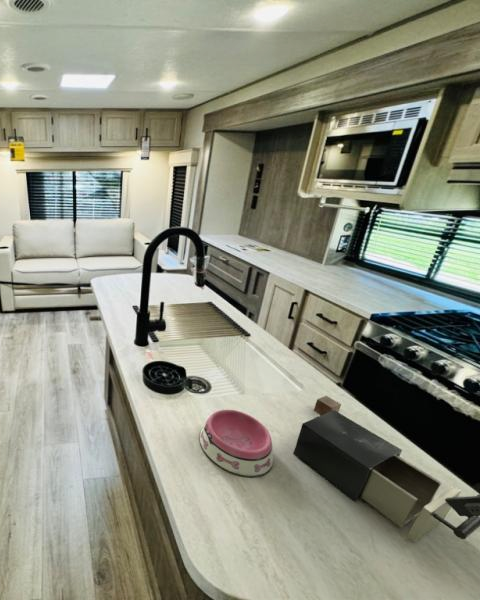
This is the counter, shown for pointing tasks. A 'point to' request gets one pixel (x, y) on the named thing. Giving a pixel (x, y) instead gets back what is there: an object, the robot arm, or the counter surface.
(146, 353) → the counter surface
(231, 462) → the dog bowl
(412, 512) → the drawer
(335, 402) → the block
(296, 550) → the counter surface
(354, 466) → the cabinet
